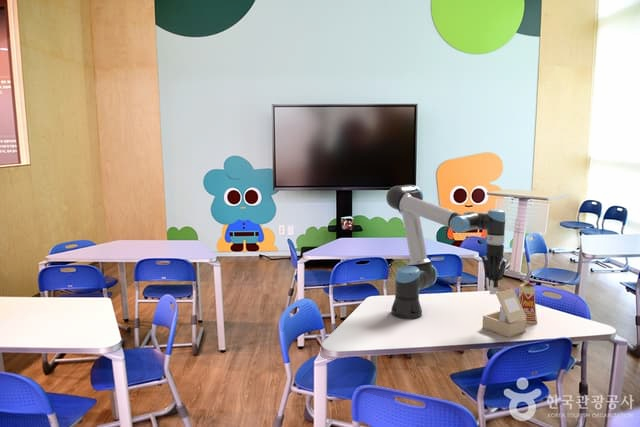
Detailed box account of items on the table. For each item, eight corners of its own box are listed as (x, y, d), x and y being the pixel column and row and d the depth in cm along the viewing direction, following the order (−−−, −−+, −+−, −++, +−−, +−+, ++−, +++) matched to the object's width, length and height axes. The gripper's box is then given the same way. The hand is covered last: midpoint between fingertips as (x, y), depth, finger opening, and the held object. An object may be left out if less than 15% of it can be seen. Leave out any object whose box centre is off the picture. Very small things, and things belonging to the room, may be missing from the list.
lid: (495, 293, 217) (497, 292, 216) (511, 288, 223) (513, 288, 223) (509, 323, 212) (510, 322, 211) (525, 318, 218) (527, 317, 218)
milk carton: (537, 323, 231) (540, 282, 228) (516, 321, 232) (519, 281, 230) (533, 316, 239) (535, 277, 237) (513, 315, 241) (515, 276, 239)
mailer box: (482, 328, 224) (483, 303, 222) (498, 323, 231) (499, 299, 229) (509, 337, 212) (510, 312, 211) (525, 332, 219) (526, 307, 218)
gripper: (478, 242, 225) (476, 291, 228) (502, 246, 215) (500, 298, 218) (488, 240, 229) (486, 289, 232) (512, 245, 219) (510, 295, 222)
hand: (492, 293), depth 225 cm, fingers closed
